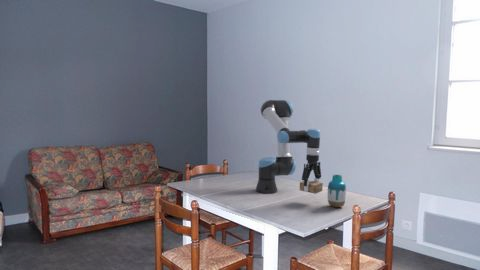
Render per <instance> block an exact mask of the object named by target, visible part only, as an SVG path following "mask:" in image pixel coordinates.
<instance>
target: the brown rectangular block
mask: <svg viewBox="0 0 480 270" xmlns="http://www.w3.org/2000/svg"><path fill="white" fill-rule="evenodd" d="M308 181H309V184H308V192H306V191H304V180H302V181H300V182H299V191H300V192H301V191H302V192H306V193H310V194H314V195H315V194H318V193H321V192H323V184H324V183H323V182H314V180H309V179H308Z"/></svg>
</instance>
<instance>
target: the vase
mask: <svg viewBox="0 0 480 270" xmlns="http://www.w3.org/2000/svg"><path fill="white" fill-rule="evenodd" d="M346 186H347V185H346V183H345V181H343V176H342V175H341V174H333V175H332V179H331V181H330V180H329V182H328V186H327V204H328V205H329V206H331V207H333V208H341V207H343V206H344V205H345V204H346V198H347V197H346V195H347V193H346V192H347V187H346Z"/></svg>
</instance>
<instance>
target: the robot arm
mask: <svg viewBox="0 0 480 270" xmlns="http://www.w3.org/2000/svg"><path fill="white" fill-rule="evenodd" d="M260 113H261V116H262V117H263V119H265V120H267V122H268V123H269V124H270V126H271V127H272V128H273V130H274V131H275V132H276V141H277V142H276V143H277V144H276V145H277V155H276V157H272V156H271V157H262V158H261V159H259V161H258V180H257V184H256V186H255V192H257V193H260V194H275V193H277V192H278V187H277V181H276V177H279V176H281V177H282V176H292V175H293V174H294V173H295V171H296V168H297V162H296V160H295V159H294V158H293V155H292V154H291V151H290V150H291V148H290V145H291V144H297V143H298V144H300V143H302V144H304V143H305V144H306V158H305V159H306V161H307V163H303V171H302V176H301V180H302V181H304V191H303V192H305V191H306V193H309V192H308V184H309V181H310V180H309V178H310V175H311V172H313V175H314V178H313V179H314V180H313V181H314V182H319V180H320V179H322V170H321V162H320V161H319V160H320V156H319V154H320V145H321V144H320V142H321V131H320V129H318V128H309V129H307V130H303V129H302V130H291V129H290V127H289V120H290V119H291V117H292V116H293V114H294V108H293V104H292V102H291V101H289V100H287V99H286V100H284V99H283V100H282V99H276V100H275V99H269V100H266V101H265V102H263V103H262V105H261V108H260ZM308 180H309V181H308Z"/></svg>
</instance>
